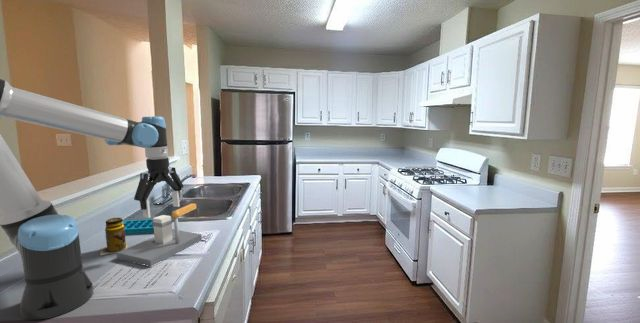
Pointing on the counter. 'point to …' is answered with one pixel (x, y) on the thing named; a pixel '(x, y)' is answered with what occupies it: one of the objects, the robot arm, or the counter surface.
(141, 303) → the counter surface
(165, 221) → the white upright block
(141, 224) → the ice cube tray
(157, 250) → the grey flat slab
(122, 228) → the condiment
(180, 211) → the clip
